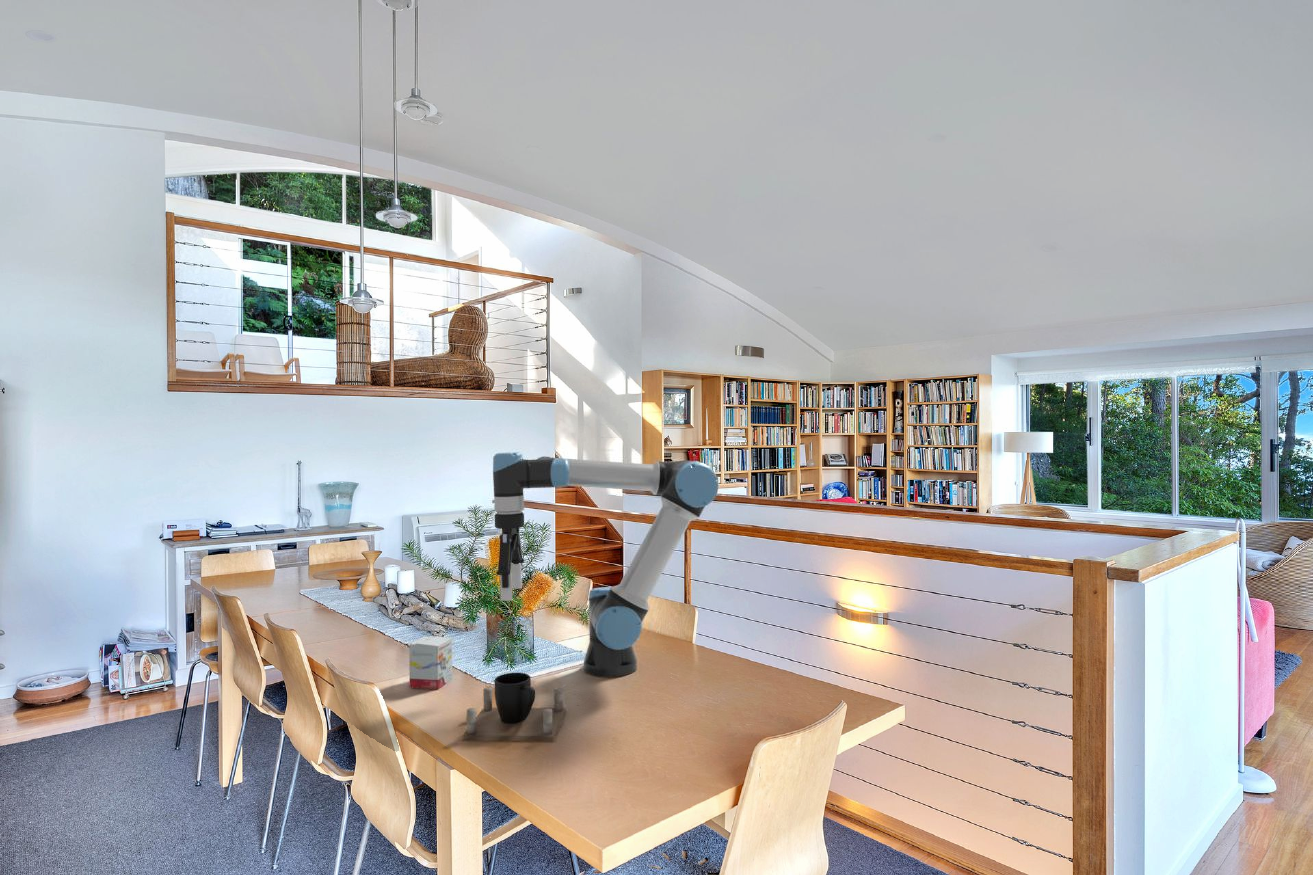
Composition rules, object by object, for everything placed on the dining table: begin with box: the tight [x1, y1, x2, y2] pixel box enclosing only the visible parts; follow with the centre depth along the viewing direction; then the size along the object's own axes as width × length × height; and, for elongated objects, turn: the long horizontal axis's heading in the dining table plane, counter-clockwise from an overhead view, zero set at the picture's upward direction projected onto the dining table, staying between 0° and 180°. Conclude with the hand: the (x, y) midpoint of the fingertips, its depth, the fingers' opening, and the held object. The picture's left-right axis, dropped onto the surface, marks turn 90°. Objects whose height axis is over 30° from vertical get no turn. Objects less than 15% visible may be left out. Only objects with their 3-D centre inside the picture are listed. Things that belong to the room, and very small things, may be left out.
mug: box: [493, 672, 536, 724], centre depth 169 cm, size 8×12×10 cm
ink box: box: [408, 635, 453, 690], centre depth 198 cm, size 9×9×12 cm
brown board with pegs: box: [462, 687, 567, 742], centre depth 169 cm, size 20×16×6 cm
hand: (511, 594), depth 191 cm, fingers open, 13 cm apart
